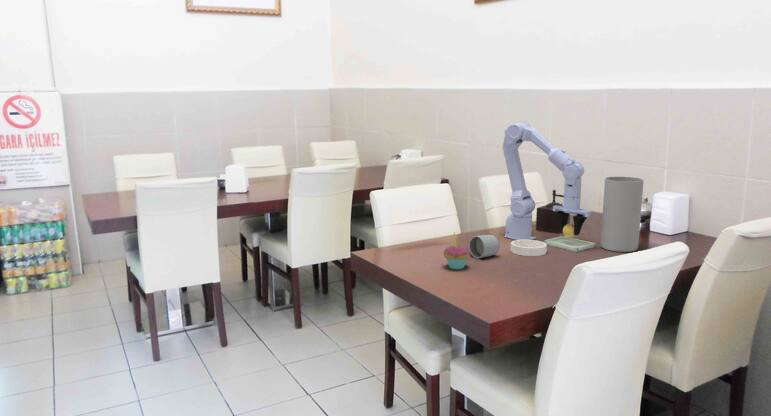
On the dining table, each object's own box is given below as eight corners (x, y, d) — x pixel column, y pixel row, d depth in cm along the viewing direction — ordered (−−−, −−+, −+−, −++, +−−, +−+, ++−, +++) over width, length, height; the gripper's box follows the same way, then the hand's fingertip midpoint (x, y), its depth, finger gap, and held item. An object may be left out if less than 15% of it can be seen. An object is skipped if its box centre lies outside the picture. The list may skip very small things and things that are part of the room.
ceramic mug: (501, 256, 197) (501, 234, 195) (483, 260, 192) (484, 238, 191) (479, 250, 205) (479, 229, 204) (462, 254, 201) (462, 232, 199)
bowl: (503, 250, 204) (504, 243, 204) (526, 245, 211) (526, 238, 211) (530, 258, 195) (531, 250, 194) (553, 252, 202) (553, 244, 201)
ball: (559, 236, 211) (560, 223, 210) (568, 235, 213) (569, 221, 212) (570, 239, 206) (571, 226, 206) (579, 237, 209) (580, 224, 208)
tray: (544, 244, 213) (544, 240, 213) (562, 239, 219) (562, 235, 219) (576, 252, 202) (577, 248, 202) (595, 247, 208) (595, 243, 208)
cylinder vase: (594, 248, 207) (599, 179, 202) (608, 242, 216) (613, 175, 211) (630, 254, 198) (635, 182, 194) (643, 247, 207) (648, 178, 202)
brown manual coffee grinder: (560, 234, 228) (563, 189, 225) (534, 230, 235) (536, 186, 232) (576, 227, 240) (579, 184, 236) (551, 223, 247) (554, 182, 243)
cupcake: (462, 272, 179) (463, 235, 177) (438, 268, 184) (438, 231, 182) (474, 265, 187) (474, 229, 184) (450, 261, 191) (450, 226, 189)
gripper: (548, 195, 211) (546, 231, 213) (583, 200, 199) (580, 238, 202) (560, 193, 215) (558, 228, 217) (595, 198, 203) (592, 235, 206)
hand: (570, 233), depth 210 cm, fingers closed on ball, 5 cm apart
